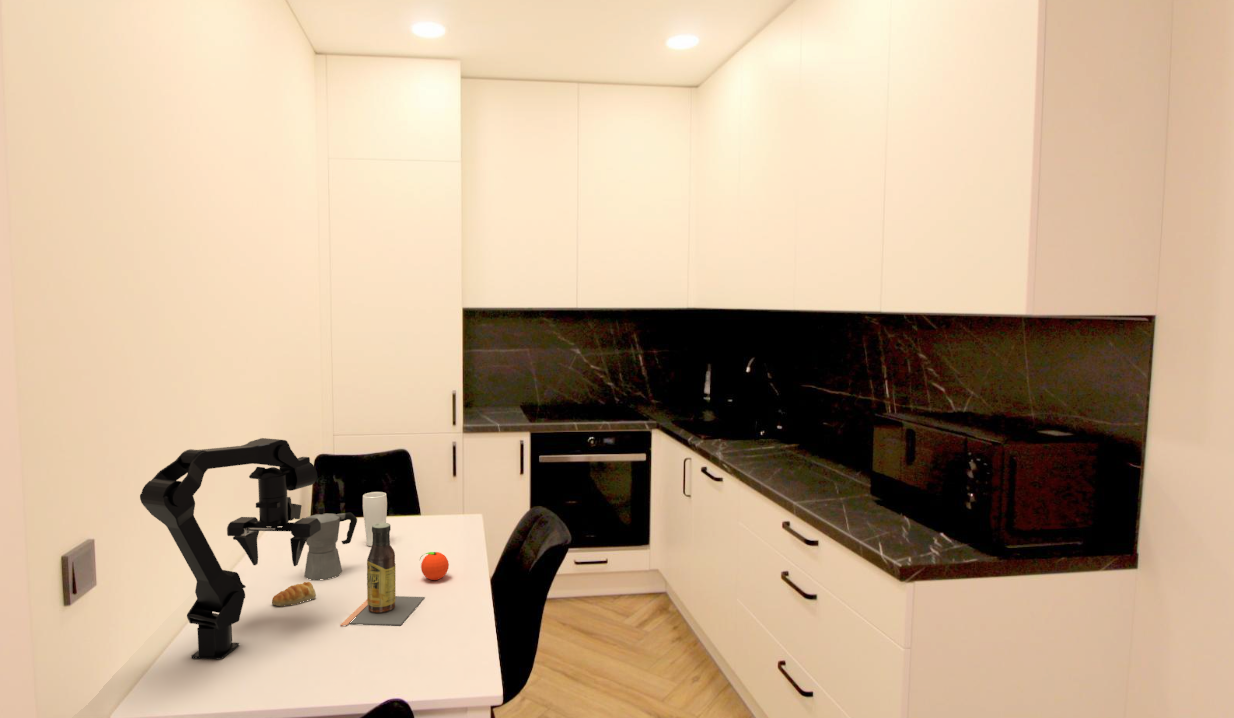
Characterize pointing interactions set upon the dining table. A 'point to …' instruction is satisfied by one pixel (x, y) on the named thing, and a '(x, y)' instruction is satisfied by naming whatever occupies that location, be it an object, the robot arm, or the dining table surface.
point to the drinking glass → (374, 512)
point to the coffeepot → (326, 545)
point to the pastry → (294, 594)
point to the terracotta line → (355, 613)
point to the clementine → (434, 565)
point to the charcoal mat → (390, 613)
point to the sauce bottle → (381, 571)
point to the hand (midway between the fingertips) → (275, 565)
